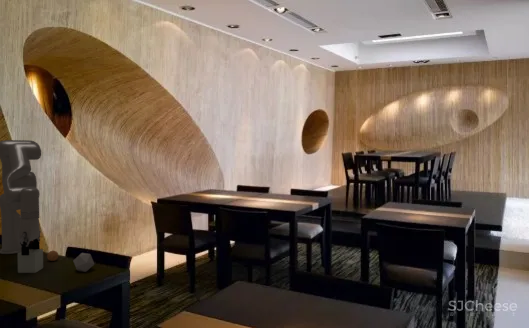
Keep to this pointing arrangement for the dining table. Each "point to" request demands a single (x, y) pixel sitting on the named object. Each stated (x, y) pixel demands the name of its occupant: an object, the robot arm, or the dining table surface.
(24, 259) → the grey block
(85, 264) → the die
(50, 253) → the ball
